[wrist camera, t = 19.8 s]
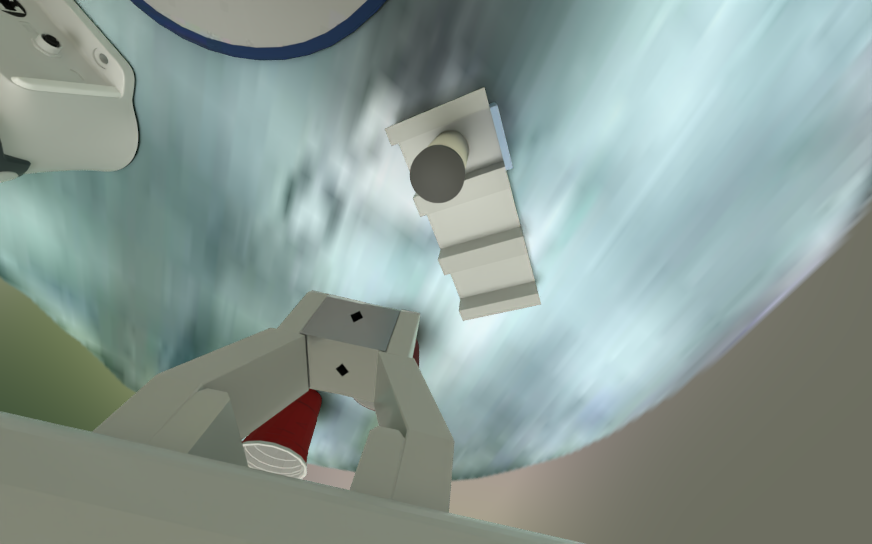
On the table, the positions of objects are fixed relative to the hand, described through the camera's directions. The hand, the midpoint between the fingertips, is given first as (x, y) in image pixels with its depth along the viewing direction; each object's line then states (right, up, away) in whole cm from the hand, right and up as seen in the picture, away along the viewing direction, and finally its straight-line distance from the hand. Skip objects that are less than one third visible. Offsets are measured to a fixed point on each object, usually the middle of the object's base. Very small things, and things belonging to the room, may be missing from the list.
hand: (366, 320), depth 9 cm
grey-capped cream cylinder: (+3, +13, +22) cm, 26 cm away
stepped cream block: (+6, +8, +26) cm, 28 cm away
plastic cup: (-20, -20, +47) cm, 55 cm away
